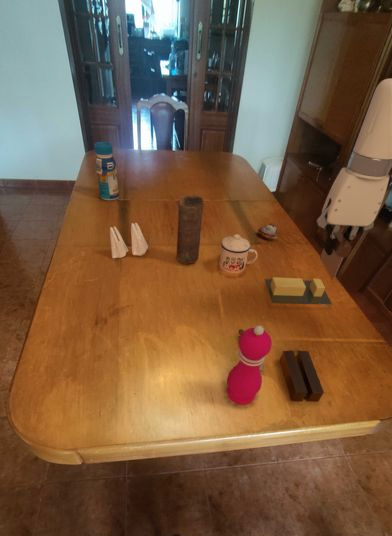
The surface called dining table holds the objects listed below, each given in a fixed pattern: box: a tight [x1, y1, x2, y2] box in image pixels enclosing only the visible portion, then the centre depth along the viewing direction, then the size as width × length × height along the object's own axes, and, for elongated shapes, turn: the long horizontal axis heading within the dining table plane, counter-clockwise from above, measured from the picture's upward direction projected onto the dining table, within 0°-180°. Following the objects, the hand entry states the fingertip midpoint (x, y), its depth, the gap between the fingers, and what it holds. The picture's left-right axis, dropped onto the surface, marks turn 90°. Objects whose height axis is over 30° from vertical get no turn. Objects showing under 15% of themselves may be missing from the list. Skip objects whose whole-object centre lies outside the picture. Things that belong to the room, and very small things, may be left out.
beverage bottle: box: [93, 141, 120, 201], centre depth 130 cm, size 8×8×20 cm
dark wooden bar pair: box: [279, 350, 324, 403], centre depth 72 cm, size 6×12×4 cm, turn 2°
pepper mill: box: [226, 324, 273, 406], centre depth 63 cm, size 7×7×20 cm
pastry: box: [257, 222, 279, 241], centre depth 120 cm, size 8×8×5 cm
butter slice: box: [309, 278, 326, 297], centre depth 95 cm, size 2×5×3 cm, turn 2°
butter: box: [270, 276, 306, 296], centre depth 94 cm, size 9×5×3 cm, turn 92°
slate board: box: [264, 278, 333, 306], centre depth 96 cm, size 18×12×1 cm, turn 92°
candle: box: [175, 194, 204, 264], centre depth 99 cm, size 8×7×20 cm
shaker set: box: [109, 222, 149, 259], centre depth 102 cm, size 12×4×11 cm, turn 99°
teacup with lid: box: [218, 233, 258, 274], centre depth 100 cm, size 12×9×12 cm
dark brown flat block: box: [319, 229, 353, 281], centre depth 74 cm, size 2×10×8 cm, turn 1°
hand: (333, 252), depth 73 cm, fingers closed on dark brown flat block, 2 cm apart
